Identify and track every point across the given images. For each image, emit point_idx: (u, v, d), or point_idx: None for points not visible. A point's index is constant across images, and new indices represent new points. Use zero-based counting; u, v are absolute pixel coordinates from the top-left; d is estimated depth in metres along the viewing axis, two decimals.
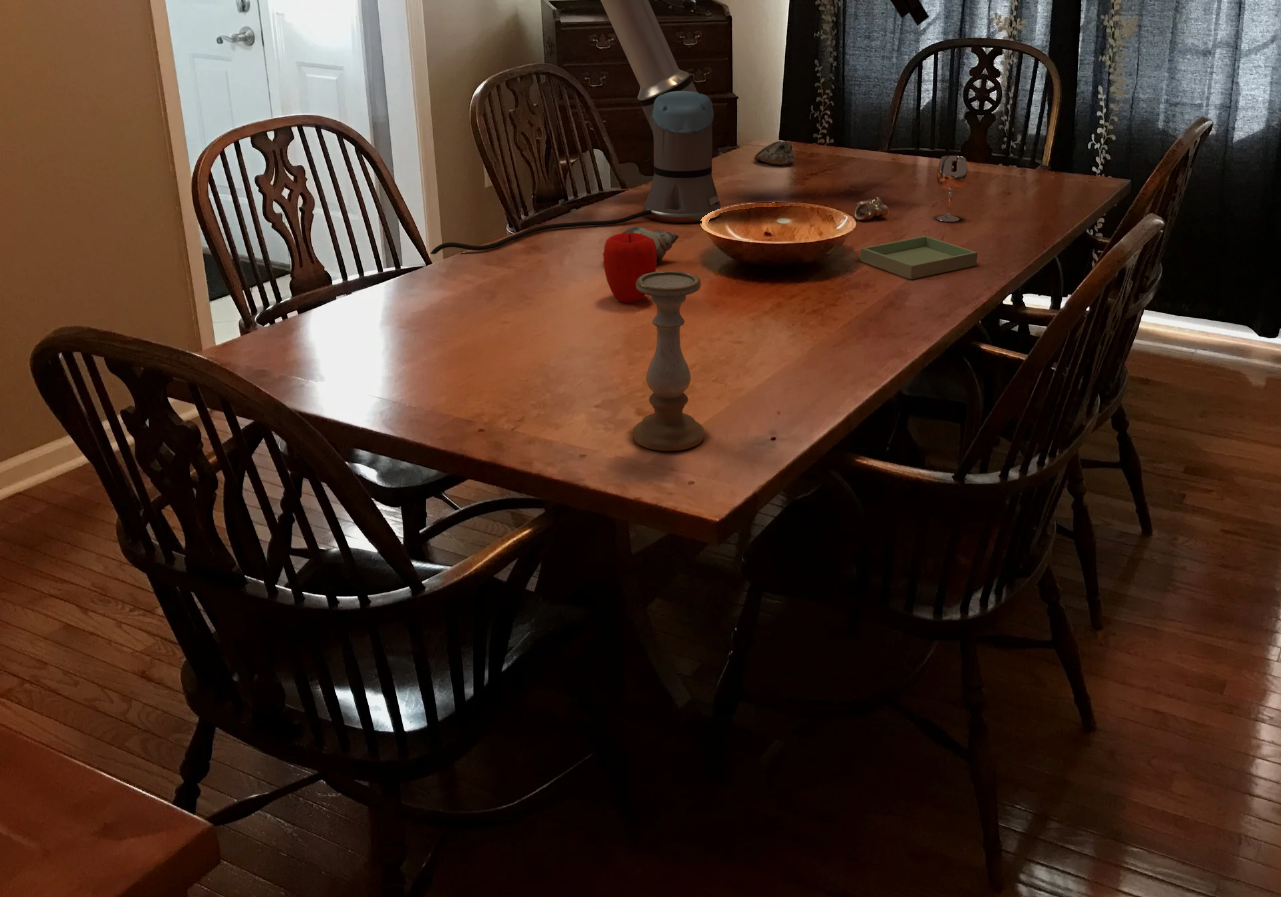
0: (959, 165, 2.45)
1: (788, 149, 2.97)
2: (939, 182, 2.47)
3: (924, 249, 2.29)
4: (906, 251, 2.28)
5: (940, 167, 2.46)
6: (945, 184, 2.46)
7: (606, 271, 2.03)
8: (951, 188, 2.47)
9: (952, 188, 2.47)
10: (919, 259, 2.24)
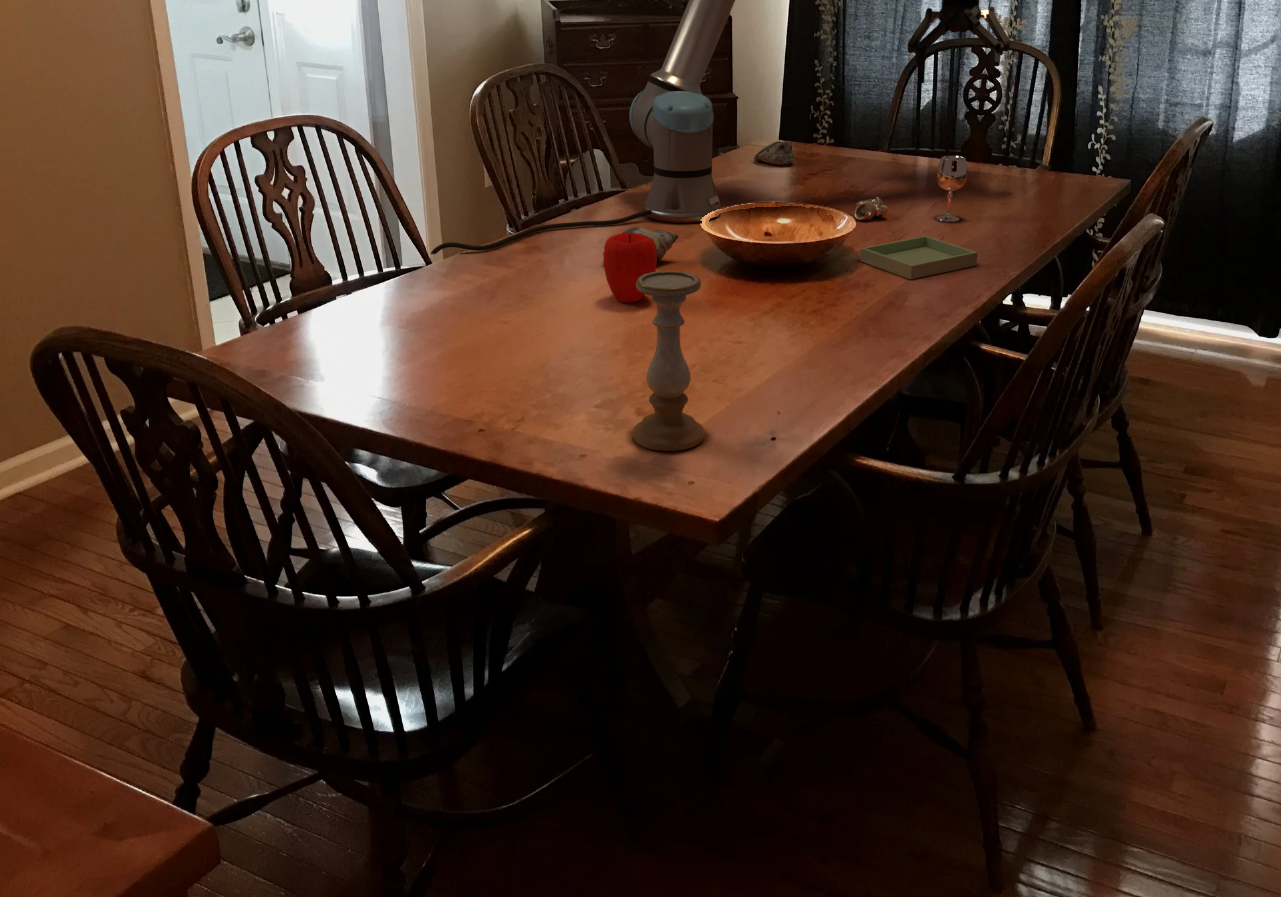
0: (959, 165, 2.45)
1: (788, 149, 2.97)
2: (939, 182, 2.47)
3: (924, 249, 2.29)
4: (906, 251, 2.28)
5: (940, 167, 2.46)
6: (945, 184, 2.46)
7: (606, 271, 2.03)
8: (951, 188, 2.47)
9: (952, 188, 2.47)
10: (919, 259, 2.24)
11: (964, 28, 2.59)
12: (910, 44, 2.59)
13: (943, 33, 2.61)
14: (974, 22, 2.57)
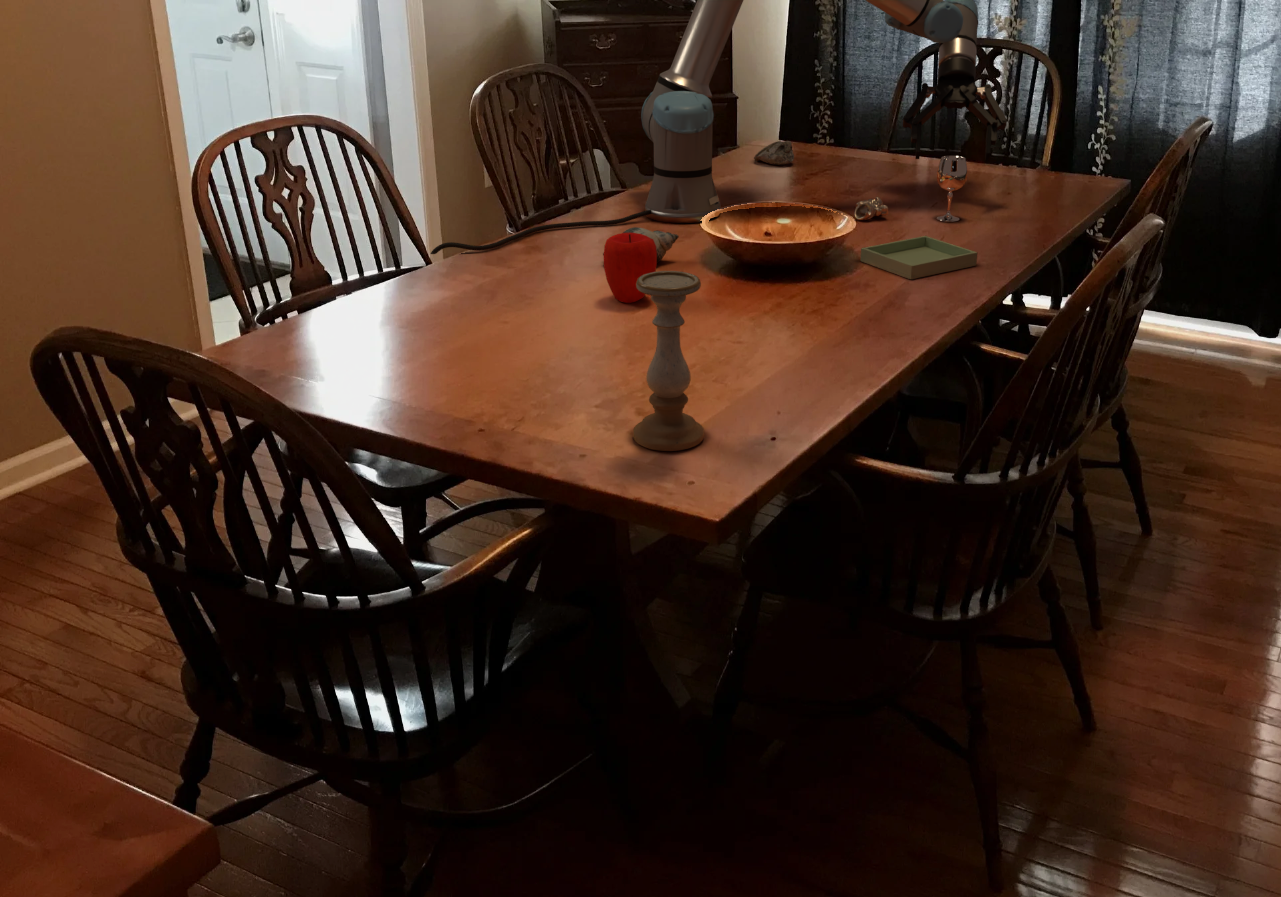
0: (959, 165, 2.45)
1: (788, 149, 2.97)
2: (939, 182, 2.47)
3: (924, 249, 2.29)
4: (906, 251, 2.28)
5: (940, 167, 2.46)
6: (945, 184, 2.46)
7: (606, 271, 2.03)
8: (951, 188, 2.47)
9: (952, 188, 2.47)
10: (919, 259, 2.24)
11: (960, 105, 2.56)
12: (906, 119, 2.55)
13: (939, 109, 2.57)
14: (970, 99, 2.54)
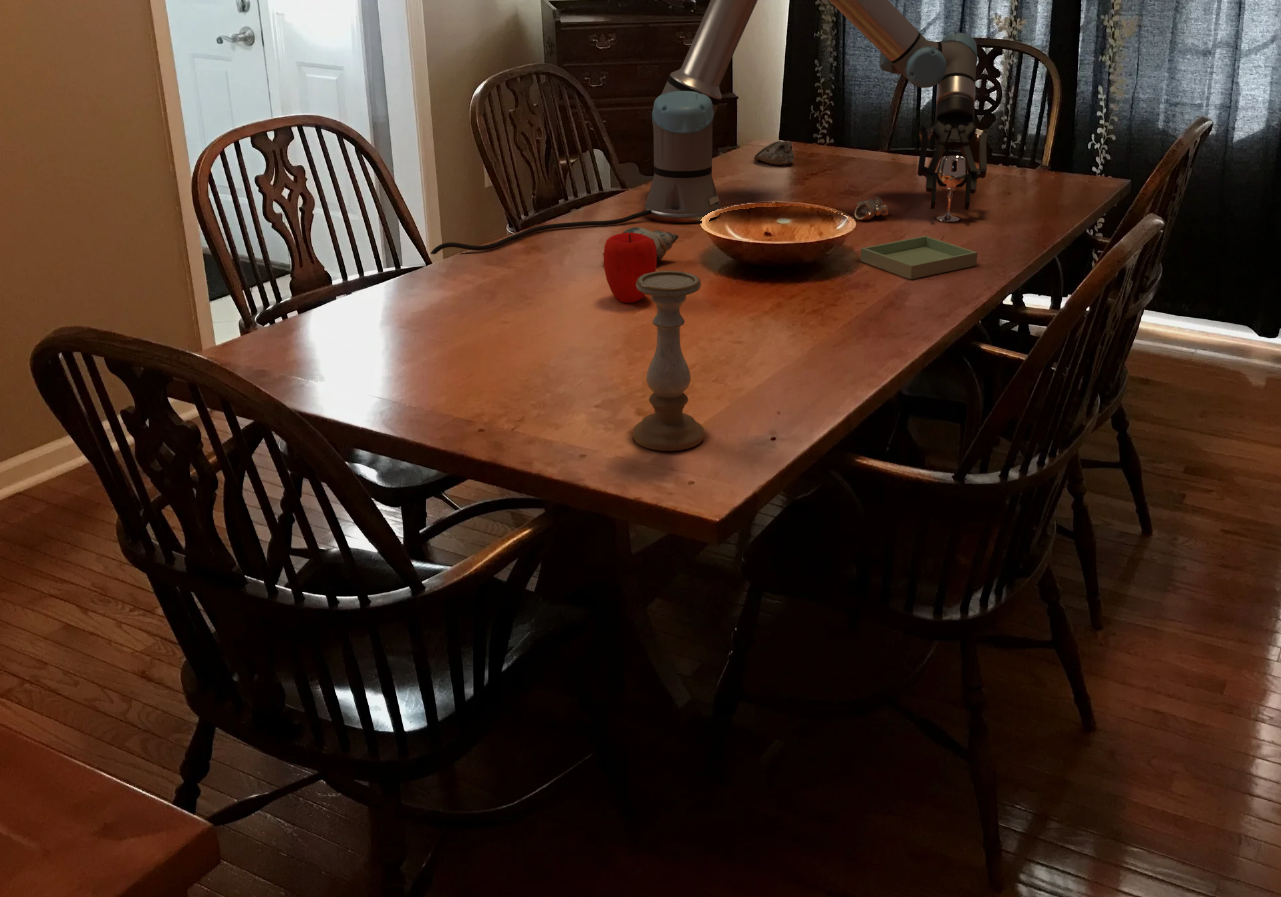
0: (959, 165, 2.45)
1: (788, 149, 2.97)
2: (939, 182, 2.47)
3: (924, 249, 2.29)
4: (906, 251, 2.28)
5: (940, 167, 2.46)
6: (945, 184, 2.46)
7: (606, 271, 2.03)
8: (951, 188, 2.47)
9: (952, 188, 2.47)
10: (919, 259, 2.24)
11: (958, 144, 2.51)
12: (921, 168, 2.49)
13: (943, 150, 2.52)
14: (963, 141, 2.49)
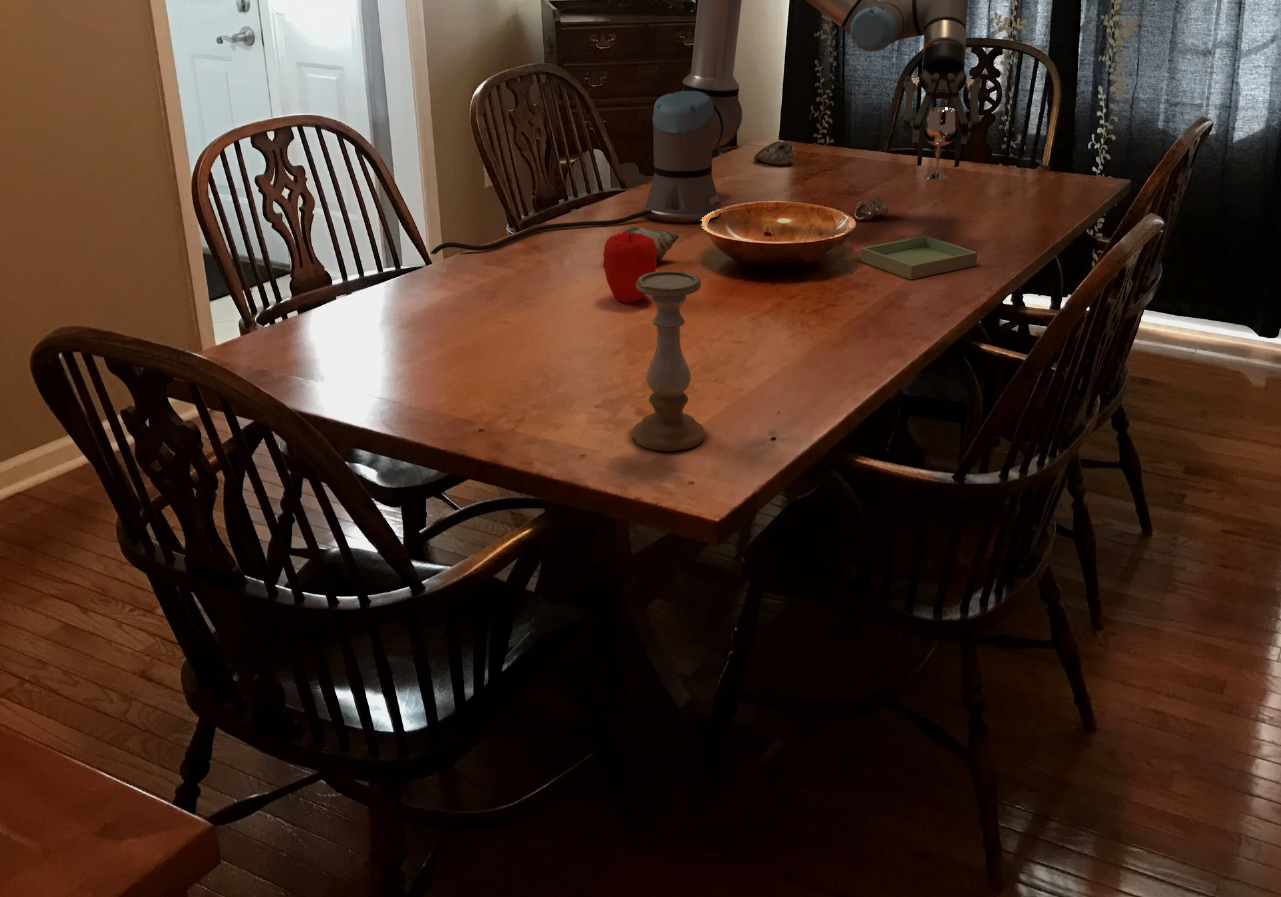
0: (949, 116, 2.22)
1: (788, 149, 2.97)
2: (926, 136, 2.24)
3: (924, 249, 2.29)
4: (906, 251, 2.28)
5: (927, 119, 2.23)
6: (933, 138, 2.23)
7: (606, 271, 2.03)
8: (939, 143, 2.24)
9: (941, 142, 2.24)
10: (919, 259, 2.24)
11: (947, 95, 2.28)
12: (907, 121, 2.26)
13: (931, 102, 2.29)
14: (952, 91, 2.26)
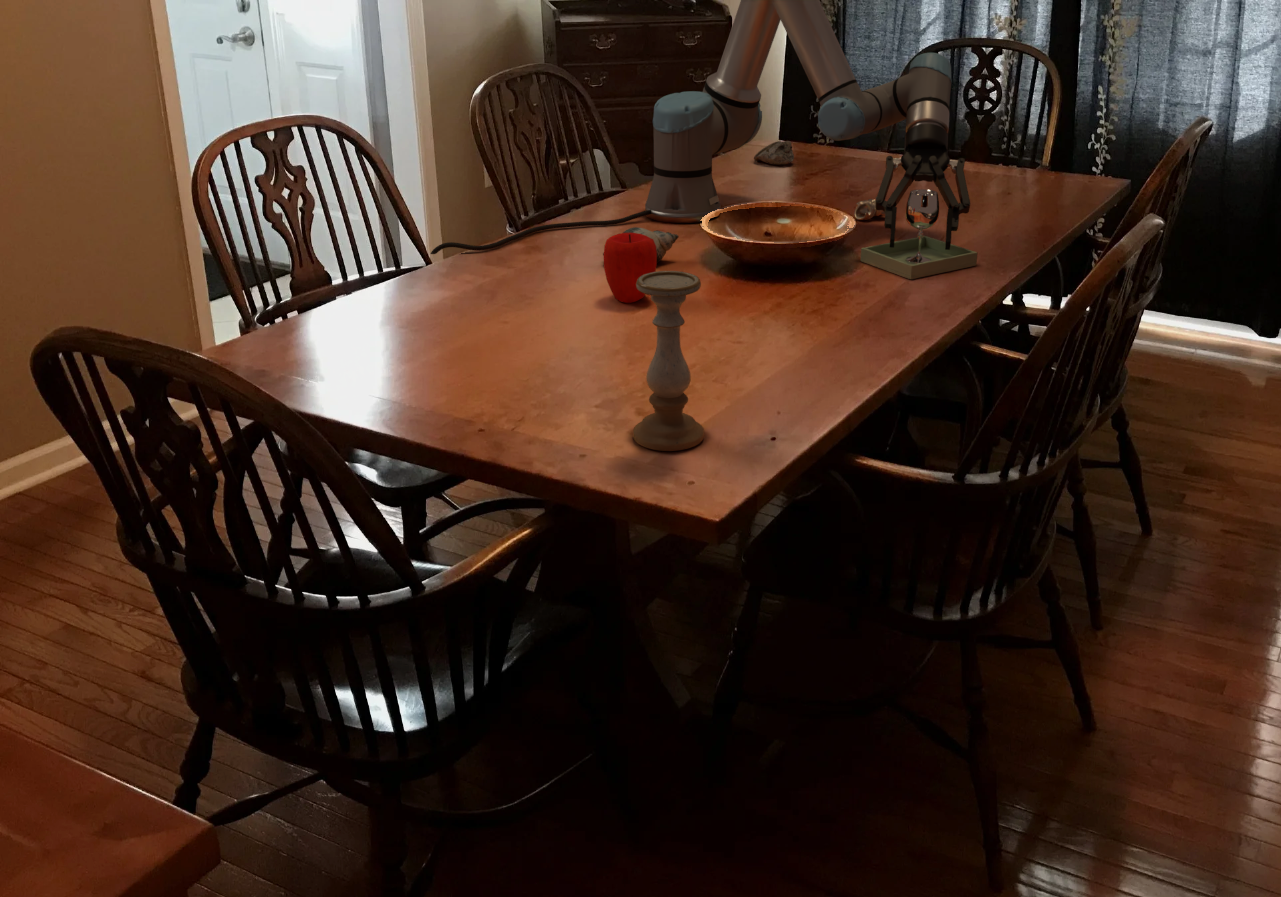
0: (931, 200, 2.17)
1: (788, 149, 2.97)
2: (908, 219, 2.19)
3: (924, 249, 2.29)
4: (906, 251, 2.28)
5: (909, 203, 2.18)
6: (915, 222, 2.18)
7: (606, 271, 2.03)
8: (921, 226, 2.19)
9: (922, 226, 2.19)
10: None
11: (930, 178, 2.23)
12: (879, 201, 2.22)
13: (910, 183, 2.25)
14: (937, 173, 2.21)
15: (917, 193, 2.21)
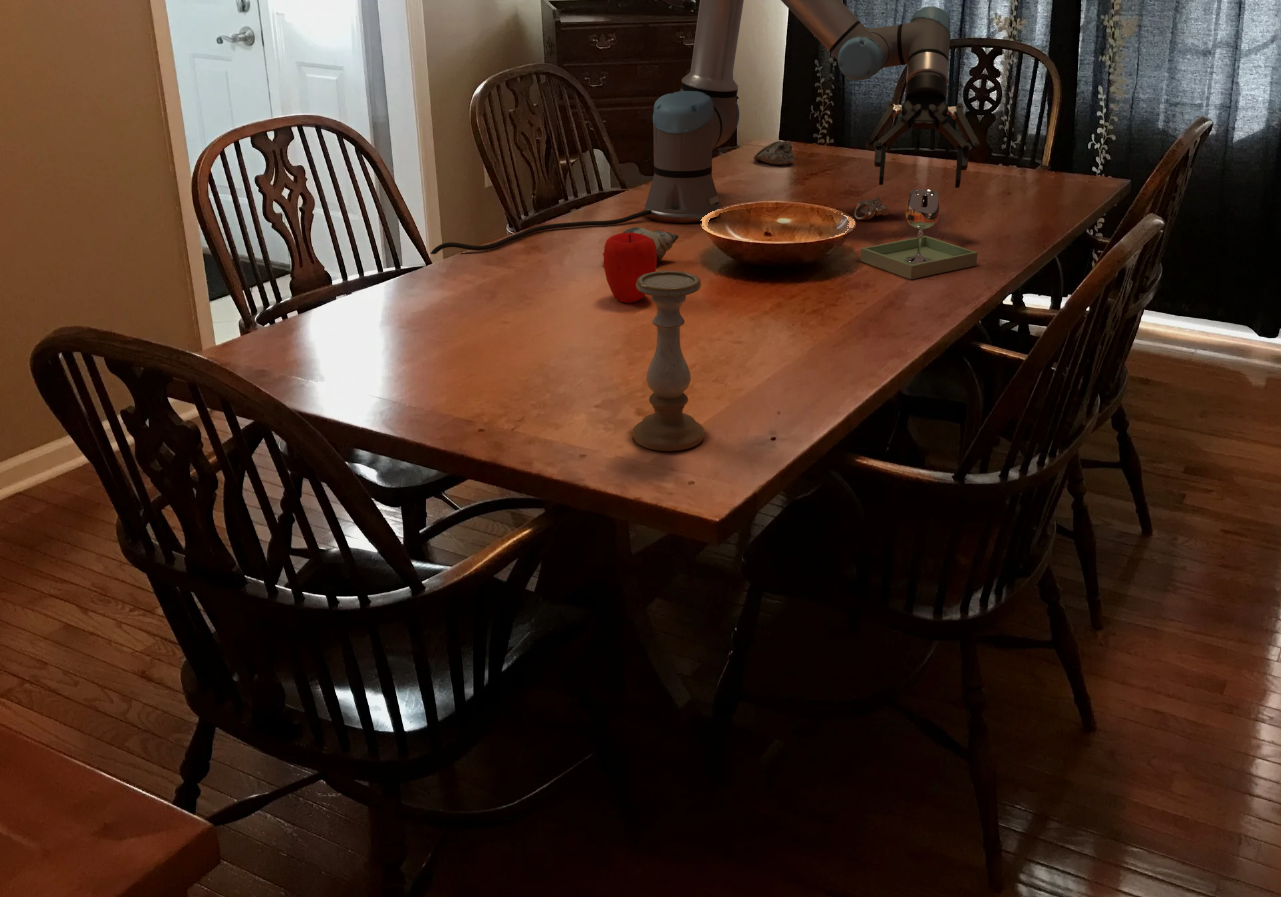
0: (930, 200, 2.17)
1: (788, 149, 2.97)
2: (908, 219, 2.19)
3: (924, 249, 2.29)
4: (906, 251, 2.28)
5: (909, 203, 2.18)
6: (915, 222, 2.18)
7: (606, 271, 2.03)
8: (921, 226, 2.19)
9: (922, 226, 2.19)
10: None
11: (929, 125, 2.33)
12: (869, 141, 2.32)
13: (906, 130, 2.35)
14: (940, 120, 2.31)
15: (917, 193, 2.21)
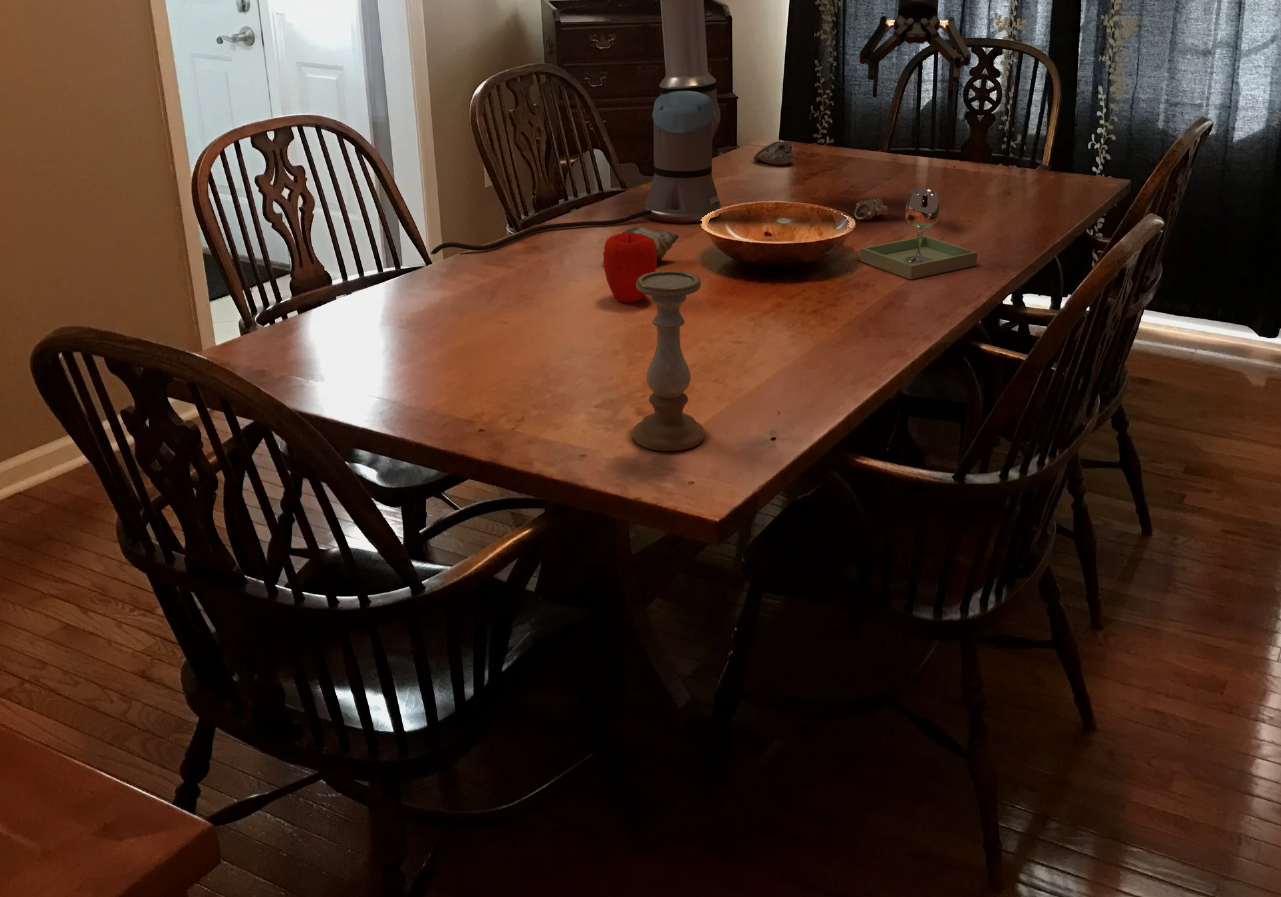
0: (930, 200, 2.17)
1: (788, 149, 2.97)
2: (908, 219, 2.19)
3: (924, 249, 2.29)
4: (906, 251, 2.28)
5: (909, 203, 2.18)
6: (915, 222, 2.18)
7: (606, 271, 2.03)
8: (921, 226, 2.19)
9: (922, 226, 2.19)
10: None
11: (921, 39, 2.37)
12: (862, 54, 2.36)
13: (898, 44, 2.38)
14: (932, 33, 2.35)
15: (917, 193, 2.21)
